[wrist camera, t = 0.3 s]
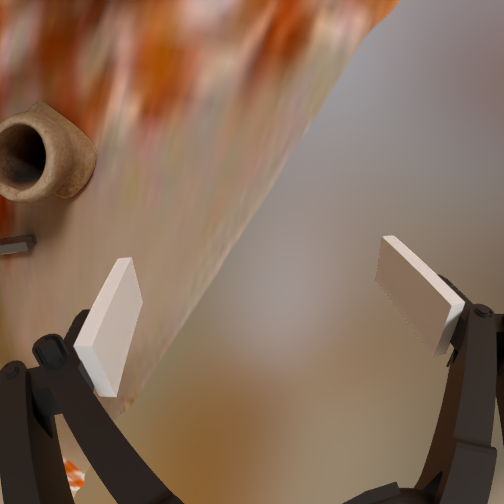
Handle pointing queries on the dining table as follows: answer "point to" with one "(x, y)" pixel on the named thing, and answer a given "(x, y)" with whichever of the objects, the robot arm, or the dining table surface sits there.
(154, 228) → the dining table surface
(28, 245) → the rail
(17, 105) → the dining table surface
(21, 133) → the brown piece
